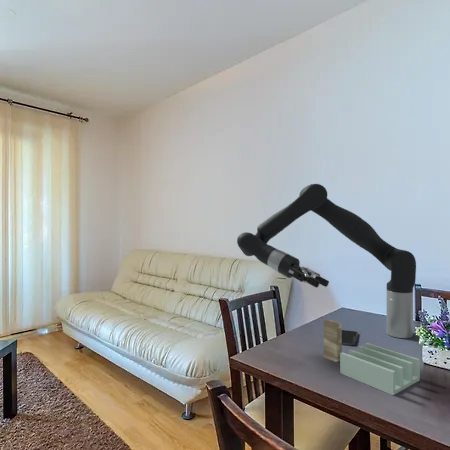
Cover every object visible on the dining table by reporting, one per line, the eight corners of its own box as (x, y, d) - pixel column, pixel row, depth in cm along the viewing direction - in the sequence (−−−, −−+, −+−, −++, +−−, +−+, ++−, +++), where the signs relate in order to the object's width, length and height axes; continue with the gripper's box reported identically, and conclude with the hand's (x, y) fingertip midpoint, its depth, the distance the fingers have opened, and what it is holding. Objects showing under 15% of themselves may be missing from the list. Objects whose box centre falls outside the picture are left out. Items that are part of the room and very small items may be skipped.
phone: (332, 341, 127) (337, 329, 140) (332, 344, 127) (337, 332, 140) (355, 344, 123) (358, 331, 137) (355, 347, 123) (358, 334, 137)
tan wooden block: (328, 355, 116) (328, 319, 115) (341, 360, 112) (341, 323, 111) (323, 357, 114) (323, 320, 114) (336, 362, 110) (336, 324, 110)
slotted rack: (367, 361, 110) (367, 342, 110) (419, 380, 97) (419, 359, 97) (340, 373, 102) (340, 352, 102) (393, 395, 89) (393, 372, 89)
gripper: (278, 252, 118) (320, 274, 109) (295, 254, 130) (335, 274, 120) (269, 272, 119) (310, 295, 110) (287, 272, 131) (326, 293, 121)
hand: (323, 284), depth 115 cm, fingers open, 8 cm apart
